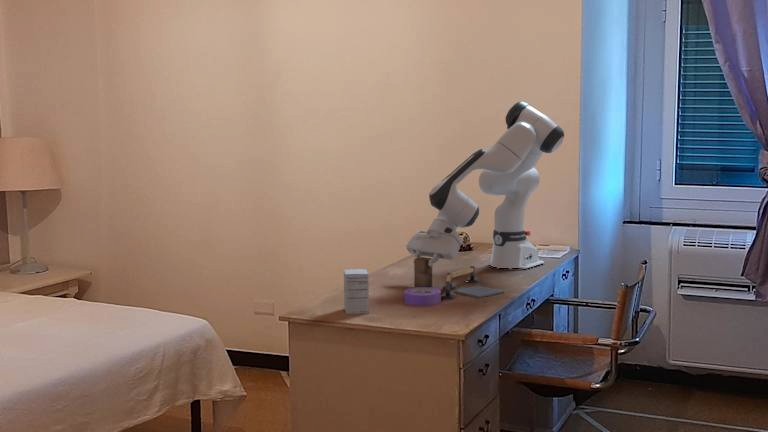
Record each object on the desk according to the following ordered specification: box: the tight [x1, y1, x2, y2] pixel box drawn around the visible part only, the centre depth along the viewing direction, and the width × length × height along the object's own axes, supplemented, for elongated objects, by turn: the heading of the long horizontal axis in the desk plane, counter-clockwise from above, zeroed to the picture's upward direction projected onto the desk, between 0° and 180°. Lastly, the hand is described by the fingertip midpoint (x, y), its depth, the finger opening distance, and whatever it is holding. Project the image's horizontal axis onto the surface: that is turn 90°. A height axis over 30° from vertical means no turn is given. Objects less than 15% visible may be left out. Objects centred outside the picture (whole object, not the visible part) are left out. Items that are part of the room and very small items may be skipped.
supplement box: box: [343, 268, 370, 315], centre depth 279 cm, size 7×7×13 cm
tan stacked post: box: [413, 256, 433, 288], centre depth 314 cm, size 4×4×10 cm
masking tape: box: [403, 286, 442, 307], centre depth 292 cm, size 12×12×4 cm
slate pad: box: [453, 285, 505, 299], centre depth 305 cm, size 12×12×1 cm
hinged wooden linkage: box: [441, 265, 479, 300], centre depth 310 cm, size 32×8×6 cm, turn 158°
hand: (422, 264), depth 313 cm, fingers closed on tan stacked post, 4 cm apart
